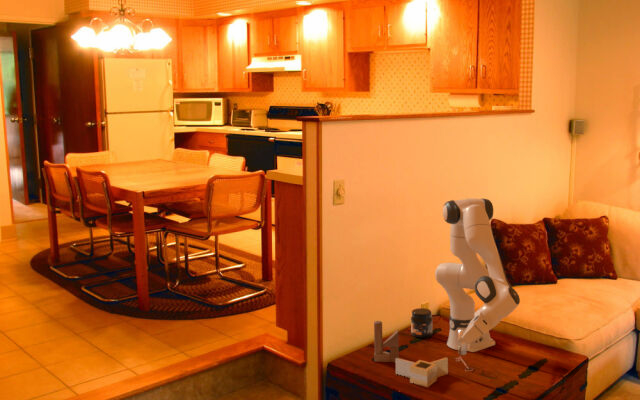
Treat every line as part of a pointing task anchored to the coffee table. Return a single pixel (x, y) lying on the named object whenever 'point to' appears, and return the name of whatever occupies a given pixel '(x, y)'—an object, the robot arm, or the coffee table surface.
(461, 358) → the key
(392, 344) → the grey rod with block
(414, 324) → the supplement container
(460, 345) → the rounded cylinder
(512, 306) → the robot arm
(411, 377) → the cream winged socket block
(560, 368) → the coffee table surface
